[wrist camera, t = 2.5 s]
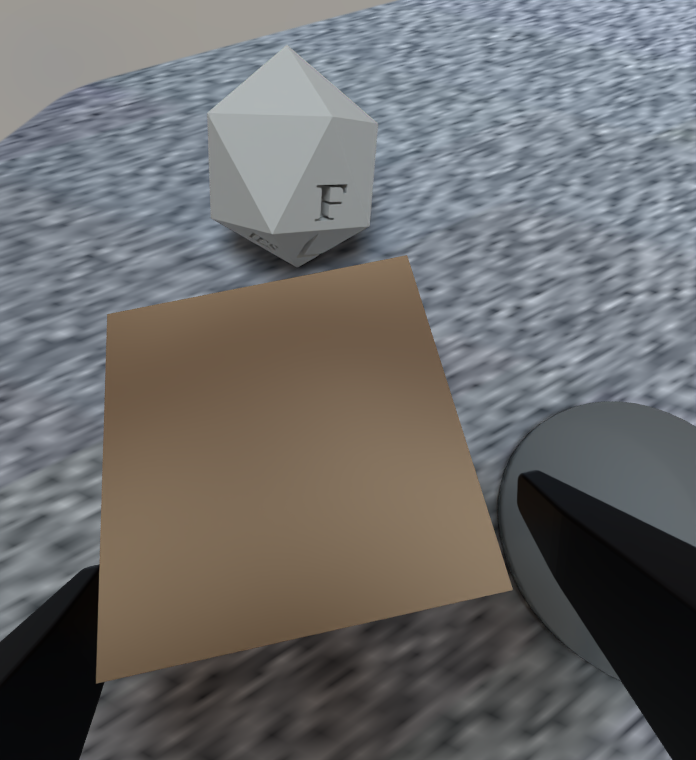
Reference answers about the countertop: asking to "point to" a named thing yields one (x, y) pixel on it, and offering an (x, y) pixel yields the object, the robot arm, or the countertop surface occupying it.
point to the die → (291, 161)
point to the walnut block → (281, 470)
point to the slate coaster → (599, 493)
